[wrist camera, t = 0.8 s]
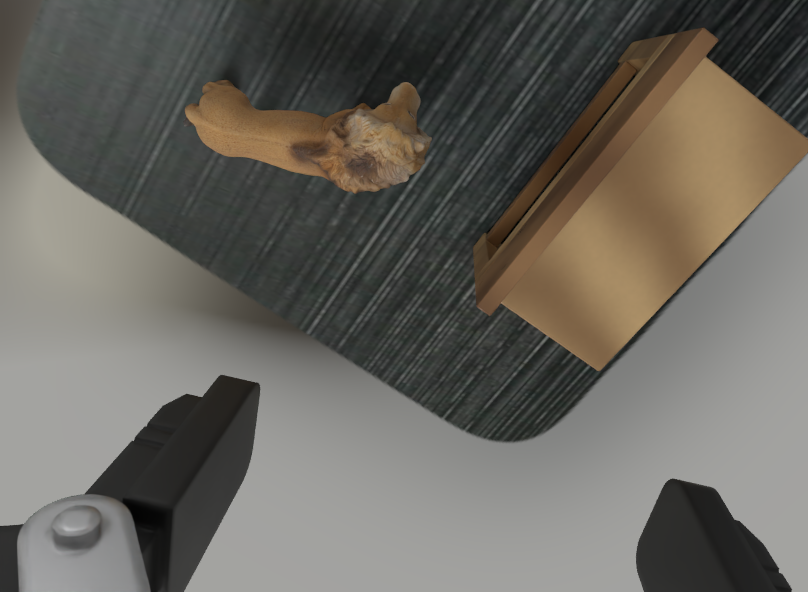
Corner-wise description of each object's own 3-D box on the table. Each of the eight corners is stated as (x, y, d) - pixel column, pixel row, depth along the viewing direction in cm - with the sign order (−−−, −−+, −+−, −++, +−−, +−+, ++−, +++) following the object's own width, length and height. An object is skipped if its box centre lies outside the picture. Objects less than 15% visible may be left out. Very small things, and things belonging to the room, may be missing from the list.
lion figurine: (438, 81, 33) (429, 83, 25) (434, 178, 35) (425, 210, 26) (183, 76, 34) (93, 76, 26) (193, 170, 36) (111, 198, 28)
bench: (575, 320, 37) (613, 402, 28) (472, 247, 36) (475, 306, 27) (744, 131, 32) (859, 153, 23) (632, 41, 31) (703, 26, 22)
